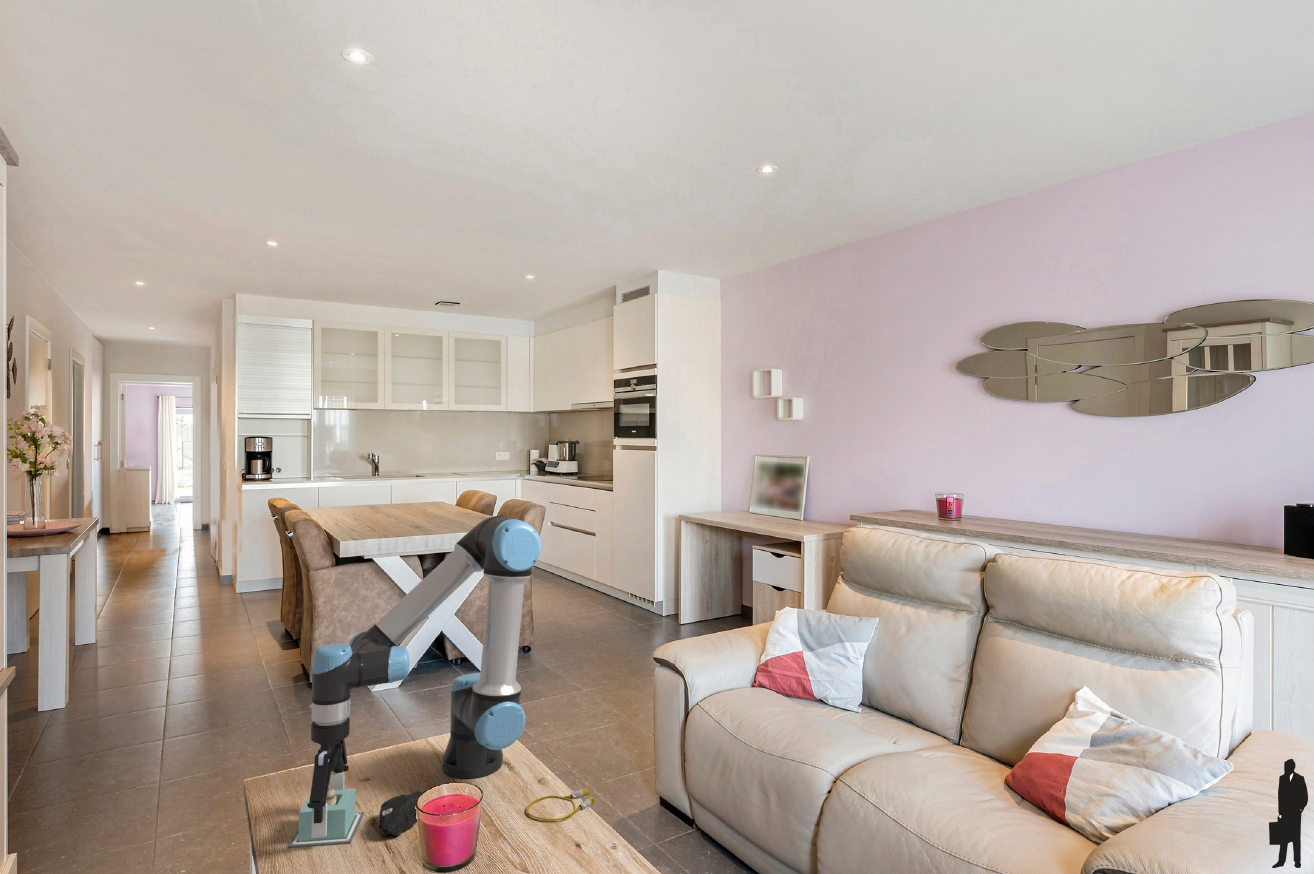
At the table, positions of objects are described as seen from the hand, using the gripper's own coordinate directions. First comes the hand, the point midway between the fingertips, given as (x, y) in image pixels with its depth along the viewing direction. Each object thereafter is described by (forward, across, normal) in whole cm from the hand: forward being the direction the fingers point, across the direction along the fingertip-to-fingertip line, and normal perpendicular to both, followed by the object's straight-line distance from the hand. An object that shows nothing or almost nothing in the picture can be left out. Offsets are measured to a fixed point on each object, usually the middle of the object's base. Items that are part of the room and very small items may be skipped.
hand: (328, 819), depth 151 cm
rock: (+3, 0, +14) cm, 14 cm away
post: (+2, 0, 0) cm, 2 cm away
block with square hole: (+2, 0, 0) cm, 2 cm away
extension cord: (+3, -2, +49) cm, 50 cm away
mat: (+2, 0, 0) cm, 2 cm away
